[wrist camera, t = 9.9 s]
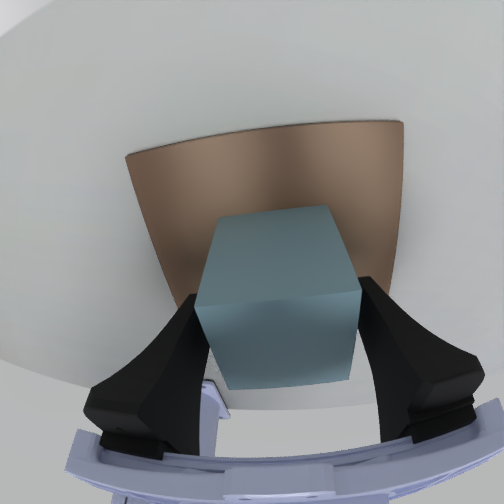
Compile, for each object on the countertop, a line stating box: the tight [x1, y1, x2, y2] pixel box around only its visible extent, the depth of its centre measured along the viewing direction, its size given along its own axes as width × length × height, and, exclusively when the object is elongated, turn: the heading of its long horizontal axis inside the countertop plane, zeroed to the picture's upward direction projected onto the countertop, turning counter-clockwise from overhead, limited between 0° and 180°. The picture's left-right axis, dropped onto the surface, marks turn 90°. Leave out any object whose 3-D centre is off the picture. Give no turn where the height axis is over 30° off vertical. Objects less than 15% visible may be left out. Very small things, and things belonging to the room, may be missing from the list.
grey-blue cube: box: [194, 205, 362, 390], centre depth 14 cm, size 6×6×7 cm
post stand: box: [125, 121, 404, 329], centre depth 14 cm, size 14×14×6 cm
